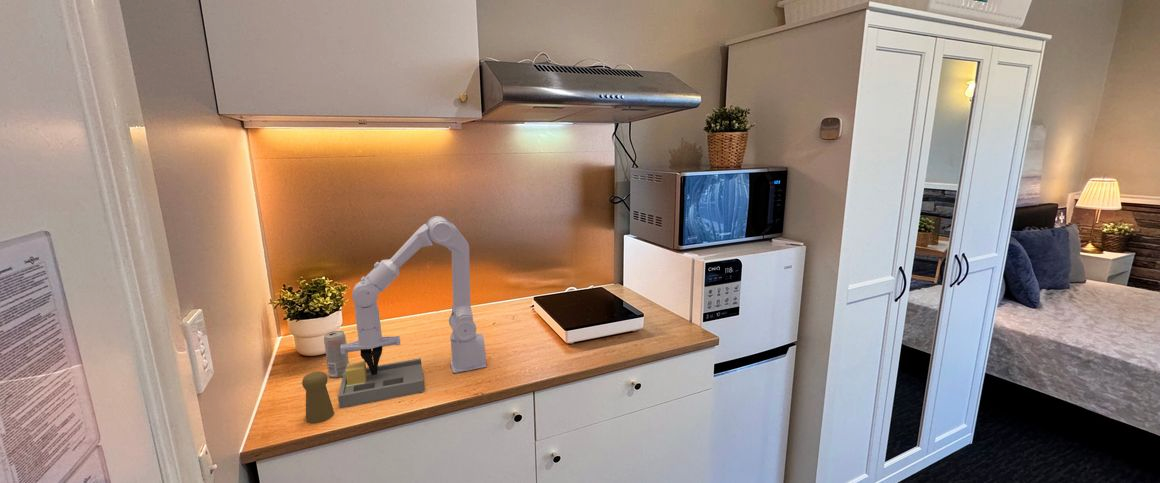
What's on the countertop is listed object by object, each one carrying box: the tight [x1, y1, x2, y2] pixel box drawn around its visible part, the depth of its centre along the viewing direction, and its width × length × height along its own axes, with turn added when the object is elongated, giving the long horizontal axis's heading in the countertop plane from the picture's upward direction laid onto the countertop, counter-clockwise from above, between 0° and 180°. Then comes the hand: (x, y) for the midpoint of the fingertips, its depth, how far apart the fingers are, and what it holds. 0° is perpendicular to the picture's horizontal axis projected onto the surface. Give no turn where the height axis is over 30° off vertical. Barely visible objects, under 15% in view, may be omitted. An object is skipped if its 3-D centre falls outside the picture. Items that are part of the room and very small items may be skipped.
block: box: [345, 360, 367, 385], centre depth 124 cm, size 4×4×4 cm
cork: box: [301, 370, 335, 425], centre depth 111 cm, size 6×6×11 cm
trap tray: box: [337, 357, 425, 409], centre depth 125 cm, size 20×14×3 cm
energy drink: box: [323, 330, 350, 379], centre depth 131 cm, size 5×5×12 cm
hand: (374, 373), depth 126 cm, fingers closed
